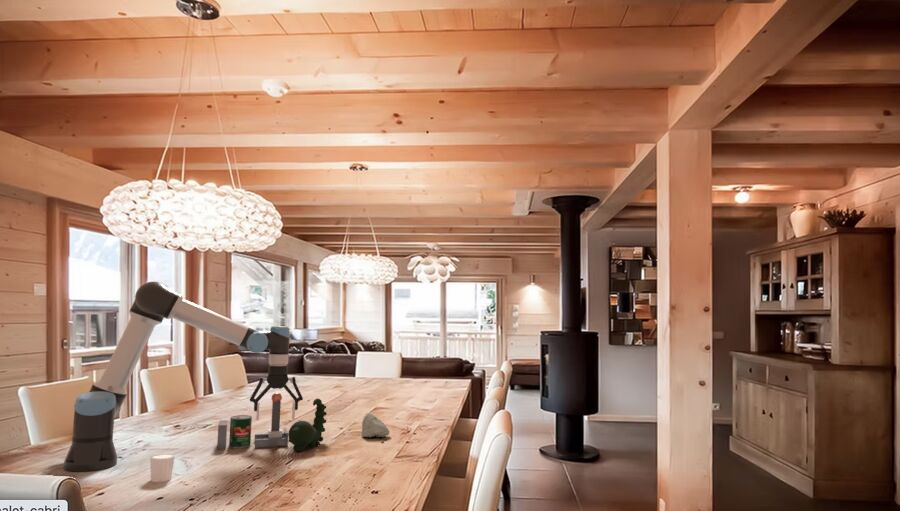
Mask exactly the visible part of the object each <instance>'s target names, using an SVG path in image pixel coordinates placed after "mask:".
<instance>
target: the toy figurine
mask: <svg viewBox="0 0 900 511" xmlns="http://www.w3.org/2000/svg"><path fill="white" fill-rule="evenodd" d="M312 405H313V406H315V408H316V409H315V412H314V413H315V414H314V416H315V417H314V418H313V424H311V423H310V422H308V421H307V420H298V421H296V422H294V423H293V424H292V425H291V426H290V428H289V430H288V443H291V444H292V446H293V447H292V448H293V451H294V452H296V453H303V451H304V450H305V449H306V447H310V448H311V449H313V448H315V447H319V446H320V444H321V442H323V441H324V437H323V436H322V435H323V434H322V433H324V432H326V428H325V426H324V424H327V419H325V416H327V414H328V413H327V412H326V411H325V410H326V409H327V406H326V405H325V404H324V403H323V402H322V400H321V398H315V399H314V400H313V403H312ZM315 445H316V446H315ZM318 445H319V446H318Z"/></svg>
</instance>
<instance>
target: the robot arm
mask: <svg viewBox="0 0 900 511" xmlns="http://www.w3.org/2000/svg"><path fill="white" fill-rule="evenodd" d="M134 295H135V296H134V301H133V303H132V304H131V308H130V309H129V311H128V313H129V315H130V319H129V320H128V323H127V325H126V326H125V328H124V329H125V330H124V332H123V333H122V335H121V337H120V340H119V342H118V344H117V345H116V347H115V349H114V351H113V354H112V355H111V357H110V359H109V361H108V363H107V366H106V368H105V370H104V372H103V374H102V376H101V377H100V379H99V380H97V381H95V382H93V383H92V385H91V387H90V389H89V391H88V392H86V393H82V394H80V395H78V396H77V397H76V398H75V402H74V406H73V408H74V412H73V414H74V415H73V423H72V424H73V425H72V426H73V427H72V437H71V439H72V440H71V445H70V446H69V449H68V452H67V454H66V456H65V458H64V461H63V470H64V471H67V472H68V471H70V472H90V471H98V470H103V469H107V468H111V467H113V466H115V465H116V464H117V463H118V455H117V450H116V448H115V447H116V446H115V444H114V439H113V438H114V426H115V419H117V418H116V417H118V415H119V414H120V411H121V409H122V405H123V403H124V401H125V399H126V397H127V395H128V391H127V388H126V387H127V384H128V383H129V381H130V378H131V376H132V374H133V372H134V370H135V368H136V366H137V364H138V362H139V360H140V358H141V356H142V354H143V352H144V349H145V347H146V346H147V344H148V341H149V339H150V337H151V335H152V333H153V331H154V328H155V327H156V326H157V325H159V324H162V323H163V320H164V319H167V320H169V319H174V320H177V321H179V322H181V323H183V324H187V325H189V326H191V327H194V328H195V329H198V330H201V331H203V332H205V333H208V334H211V335H213V336H214V337H217V338H220V339H221V340H224V341H227V342H229V343H232V344H234V345H236V346H237V348H238V350H240V351H250V352H251V353H253V354H254V353H255V354H259V353H262V352H264V351H269V352H268V364H269V365H268V370H267V377H263V376H260V377H259V380H258V384H257V385H256V387H255V388H254V390H253V392H252V394H251V395H250V397H249V401H250V402H251V403H254V404H253V411H254V412H256V418H255V420H256V421H259V419H260V416H259V415H260V400H261V399H262V398H263V397H264V396H265V395H266V394H267V393H268V391H269V390H271V388H272V389H273V390H275V389H280V390H281V389H283V388H284V389H285V391H286V392H287V393H288V394H289V396H290V397H291V398H292V399H293V401H292V406H291V407H292V410H291V411H292V413H291V418H292V420H295V415H296V414H295V412H296V411H298V409H299V402H300V401H303V400H304V398H303V396H302V393H301V391H300V389H299V387H298V385H297V381H296V376H290V377H289V375H288V374H289V373H288V372H289V366H288V364H289V350H290V338H291V336H290V328H289V327H288V326H285V325H283V326H282V325H272V326H271V327H270V328H269V330H256V329H253V328H251V327H249V326H246V325H244V324H242V323H241V322H238V321H235V320H233V319H231V318H229V317H227V316H223V315H221V314H220V313H216V312H214V311H212V310H210V309H208V308H205V307H203V306H202V305H199V304H196V303H195V302H191V301H189V300H188V299H185V298H183V295H182V294H180V293H178V292H176V291H174V290H172V289H171V288H170V287H169V286H167V285H166V284H164V283H161V282H159V281H148V282H145V283H143V284H142V285H141V286H139V287H138V288H137V290H136V293H135V294H134ZM289 381H290V383H291V384H292V386H293V387H294V390H295V392H296V394H297V396H296V395H295V394H294V393H293V391H292V390H291V388H290V387H288V385H287V383H288V382H289ZM265 382H266V383H267V384H268V385H267V386H265V388H264V389H263V390H262V391H261V392H260V393H259V394H258V392H259V391H260V389H261V387H262V385H263V384H265ZM257 394H258V395H257ZM256 396H257V397H256ZM255 397H256V398H255ZM117 465H118V464H117Z"/></svg>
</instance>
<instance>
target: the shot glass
mask: <svg viewBox="0 0 900 511" xmlns="http://www.w3.org/2000/svg"><path fill="white" fill-rule="evenodd" d="M175 456H176V455H174V454H172V453H161V454H155V455H151V456H150V458H149V460H150V462H149V464H150V482H153V483H163V482H168V481H170V480H171V479H172V477H173V476H172V475H173V468H174V463H175Z"/></svg>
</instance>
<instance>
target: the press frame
mask: <svg viewBox="0 0 900 511" xmlns="http://www.w3.org/2000/svg"><path fill="white" fill-rule="evenodd" d="M228 424H229V423H228V420H227V419H224V420H219V422H218V428H217V442H216V445H217V446H216V450H217V451H220V450H221V451H222V449H224V450H227V449H226V448H227V442H228V441H227V439H228V438H227V437H228V436H227V435H228ZM288 434H289V430H288V429H287V427H283V432H282V438H271V439H268V433H255V434H254V442H253V443H255V444H254V449H262V448H278V447H277V446H284V447H288V446H289V435H288Z"/></svg>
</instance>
